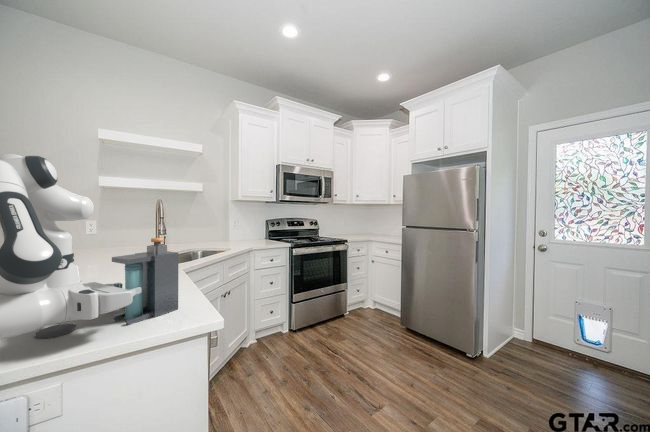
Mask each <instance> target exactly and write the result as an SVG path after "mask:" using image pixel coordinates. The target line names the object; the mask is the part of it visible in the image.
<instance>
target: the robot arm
mask: <svg viewBox="0 0 650 432" xmlns="http://www.w3.org/2000/svg"><path fill="white" fill-rule="evenodd" d="M57 183H58V172H57V169H56V168H55V166H54V165H53V163H51V162H50V161H48V159H47V158H45V157H43V156H40V155H26V156H22V155H20V154H18V153H17V154H16V153H4V154H0V232H1V235H2V237H3V243H2V245H1V246H0V340H4V339H5V340H6V339H8V338H12V337H18V336H21V335H26V334H28V333H31V332H37V331H39V330H41V329H43V328H45V327H47V326H52V325H59V324H64V323H66V322H71V321H72V322H73V321H76V320H77V321H78V320H84V321H89V320H94V319H96V318H99V315H103V314H108V313H110V312H114V311H117V310H120V309H123V308H125V307H126V306H128V305H130V304H131V303H132V302H133V296H134V295H136V294H140V293H141V292H142V288H141V287H134V288H132V289H130V290H127V289H125V288H123V283H121V282H115V283H100V282H96V281H94V282H93V281H91V282H85V283H84V281H83V280H80V273H79V266H78V265H77V264H75V263H74V262H75V253H74V251H73V236H72V234H71V233H70V232H69V231H66V230H64V229H61V228H59V227H58V226H57V224H56V222H75V221H83V220H88V219H89V218H91V216H92V215H93V213H94V212H95V205H94V203H93V201H92V199H90V198H89V197H88V196H84V195H81V194H78V193H74V192H72V191H70V190H67V189H66V188H64V187H61V186H60V185H58V184H57Z"/></svg>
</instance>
